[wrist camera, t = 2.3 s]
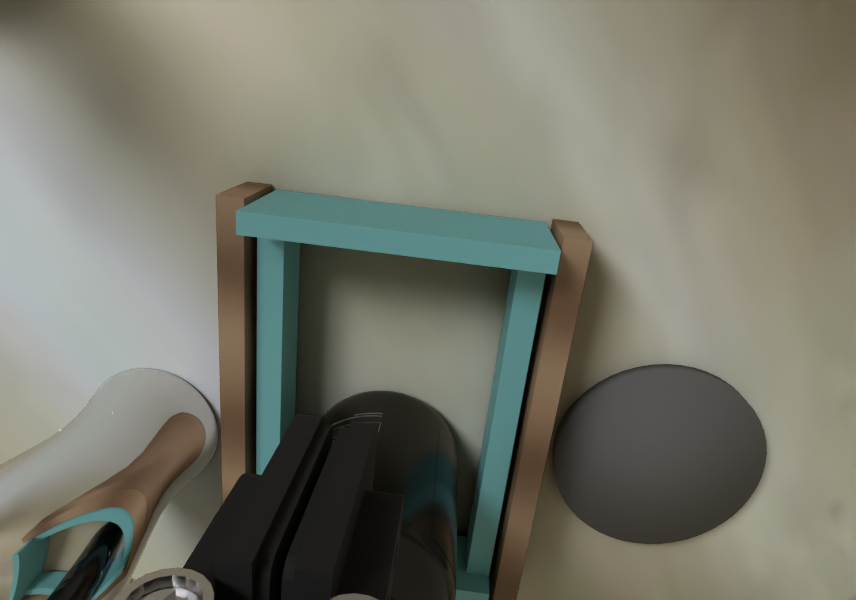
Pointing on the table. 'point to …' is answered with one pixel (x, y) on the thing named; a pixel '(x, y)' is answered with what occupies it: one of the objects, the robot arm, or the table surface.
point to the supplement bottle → (413, 486)
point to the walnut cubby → (536, 402)
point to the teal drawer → (416, 237)
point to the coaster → (658, 454)
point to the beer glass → (100, 487)
